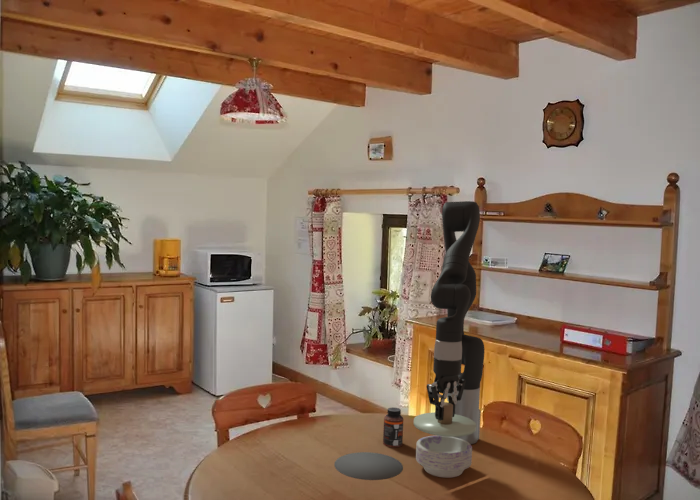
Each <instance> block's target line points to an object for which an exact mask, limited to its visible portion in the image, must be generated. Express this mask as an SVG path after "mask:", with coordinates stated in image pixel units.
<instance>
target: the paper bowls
mask: <svg viewBox="0 0 700 500" xmlns="http://www.w3.org/2000/svg"><path fill="white" fill-rule="evenodd" d="M415 444H416V447H415V461H416V463H418V464H419V465H420V466H422V467H423V469H424V471H425V472H426V473H427V474H429V475H431V476H433V477H439V478H456V477H459V476H460V475H462V474H463V473H464V471H465V470H466V469H469V468H470V467H471V465H472V463H473V462H472V460H473V459H472V458H473V446H472V444H470V443H468V442H467V441H465V440H463V439H460V438H456V437H446V436H438V435H429V436H424V437H421V438H419V439H418V440H417V441H416V443H415Z"/></svg>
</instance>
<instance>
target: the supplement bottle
mask: <svg viewBox="0 0 700 500" xmlns="http://www.w3.org/2000/svg"><path fill="white" fill-rule="evenodd" d="M386 413H387V414H385V415H384V418H383V435H382V436H383V437H382V444H383V446H385V447H387V448H400V447H402V446H403V443H404V442H403V441H404V440H403V438H404V417H403V415H402V411H401V409H400V408H399V407H388V408H387V412H386Z"/></svg>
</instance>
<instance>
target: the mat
mask: <svg viewBox="0 0 700 500" xmlns="http://www.w3.org/2000/svg"><path fill="white" fill-rule="evenodd" d="M403 466H404V465H403V464H402V463H401V461H400V460H399V459H396V458H395V457H393V456H390V455H388V454H383V453H378V452H369V451H365V452H364V451H361V452H360V451H359V452H352V453H348V454H347V453H346V454H344V455H341V456H340V457H338V458H337V459H335V461H334V468H335V469H336V471H338V472H339V474H342V475H344V476H345V477H349V478H353V479H358V480H364V481H380V480H381V481H382V480H387V479H391V478H394V477H396V476H398V475H400V474H401V473H402V472H403V470H404V467H403Z"/></svg>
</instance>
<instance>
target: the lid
mask: <svg viewBox="0 0 700 500" xmlns="http://www.w3.org/2000/svg"><path fill="white" fill-rule="evenodd" d="M443 407H444V414H443V420H441V421H440V420H438V419H436V417H435V412H425V413H421V414H418V415H416V416H415V417H413V426H414V427H415V428H416V429H417V430H419V431H420V432H423V433H426V434H428V435H431V436H446V437H460V436H467V435H470V434H472V433H474V432H475V431H476V423H475V422H474V421H473V420H471V419H469V418H467V417H464V416H460V415H456V414H455V415H454V417H453V404H451V403H448V401H444V406H443Z"/></svg>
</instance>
